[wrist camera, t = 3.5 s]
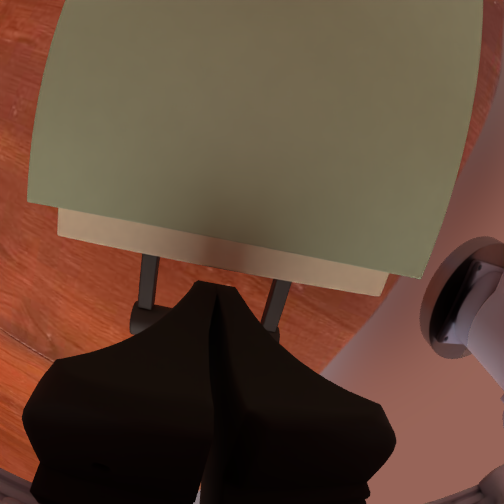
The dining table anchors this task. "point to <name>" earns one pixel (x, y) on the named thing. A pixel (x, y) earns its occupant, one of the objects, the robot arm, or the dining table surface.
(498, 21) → the dining table surface
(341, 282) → the drawer
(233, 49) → the cabinet
